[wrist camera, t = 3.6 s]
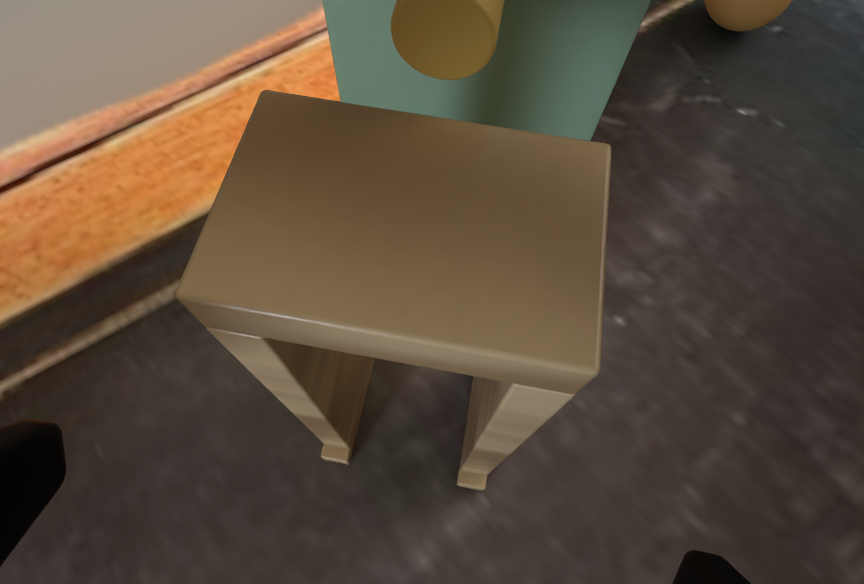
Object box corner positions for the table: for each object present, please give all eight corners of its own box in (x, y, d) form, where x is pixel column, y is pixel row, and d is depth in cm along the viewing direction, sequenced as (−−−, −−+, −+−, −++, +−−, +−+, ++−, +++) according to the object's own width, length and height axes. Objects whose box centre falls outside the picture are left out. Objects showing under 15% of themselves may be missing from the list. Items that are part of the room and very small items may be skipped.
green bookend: (536, 368, 19) (899, -155, 5) (321, 328, 20) (47, -259, 5) (555, 179, 23) (797, -451, 8) (373, 150, 23) (298, -498, 9)
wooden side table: (483, 491, 17) (600, 408, 6) (323, 459, 18) (157, 325, 6) (500, 364, 19) (614, 121, 8) (355, 337, 20) (268, 68, 8)
